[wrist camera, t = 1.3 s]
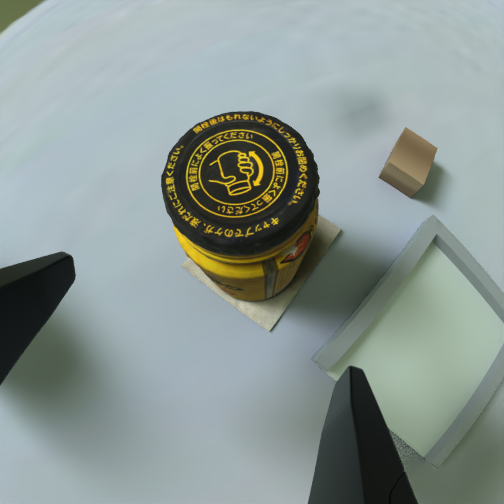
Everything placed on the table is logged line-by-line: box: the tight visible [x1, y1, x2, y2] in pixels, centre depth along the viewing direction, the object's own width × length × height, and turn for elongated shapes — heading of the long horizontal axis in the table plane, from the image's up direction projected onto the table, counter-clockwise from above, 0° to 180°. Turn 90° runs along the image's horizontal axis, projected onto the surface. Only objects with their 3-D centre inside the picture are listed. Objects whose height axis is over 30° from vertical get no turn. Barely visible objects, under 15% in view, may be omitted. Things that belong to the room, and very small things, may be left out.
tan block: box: [379, 128, 437, 198], centre depth 21 cm, size 4×3×2 cm
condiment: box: [161, 111, 341, 332], centre depth 16 cm, size 7×8×12 cm
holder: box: [311, 215, 504, 468], centre depth 18 cm, size 13×13×2 cm
